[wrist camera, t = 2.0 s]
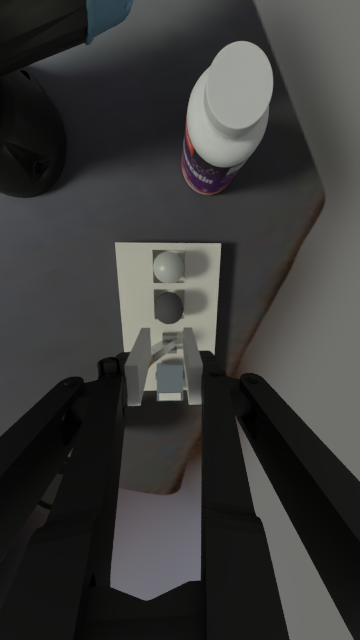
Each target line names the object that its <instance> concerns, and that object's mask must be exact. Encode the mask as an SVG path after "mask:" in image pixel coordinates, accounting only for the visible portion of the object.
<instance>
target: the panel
mask: <svg viewBox="0 0 360 640" xmlns="http://www.w3.org/2000/svg"><path fill="white" fill-rule="evenodd" d="M115 248H116V260H117V272H118V283H119V295H120V307H121V319H122V331H123V342H124V352H131V350H132V348H133V346H134V343H135V341H136V339H137V337H138V335H139V332H140V330H141V328H150V335H151V347H152V346H153V345H155V344H156V343H158V342H160V341H161V340H163V339H172V340H174V348H173V349H172V350H170V351H169V352H168V353H167V354H165V355H164V356H163V357H161V358H160V359H159V360H157V361H156V362H155V363H153V364H152V365H151V367H150V368H149V369H148V373H147V378H146V383H145V387H144V391H152V390H157V363H173V362H182V363H183V390H187V385H186V376H185V368H184V359H183V327H192V330H193V333H194V336H195V340H196V343H197V347H198V350H199V351H205V350H209V351H211V352H212V353H213V354H215V337H216V321H217V304H218V288H219V272H220V255H221V243H115ZM163 252H173V253H175V254H177V255H178V256H179V257H180V258H181V259H182V261H183V265H184V271H183V274H182V276H181V278H180V279H179V280H178V281H176V282H174V283H164V282H161V281H160V280H159V279H157V277H156V276H155V274H154V271H153V264H154V261H155V259H156V257H157V256H158V255H160V254H161V253H163ZM165 292H173V293H175V294H177V295H178V296H179V297H180V298H181V301H182V305H183V315H182V317H181V319H180V320H179V321H178V322H176V323H174V324H164V323H162V322H160V321H159V320H158V319H157V317H156V315H155V305H156V302H157V300H158V298H159V296H160V295H162V294H163V293H165Z"/></svg>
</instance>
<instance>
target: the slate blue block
mask: <svg viewBox="0 0 360 640" xmlns="http://www.w3.org/2000/svg"><path fill="white" fill-rule="evenodd" d="M157 401H183V363H182V362H173V363H157Z"/></svg>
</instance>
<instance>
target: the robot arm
mask: <svg viewBox="0 0 360 640" xmlns="http://www.w3.org/2000/svg"><path fill="white" fill-rule="evenodd" d="M132 4H133V0H0V192H1V193H3V194H6V195H9V196H13V197H22V198H24V197H33V196H36V195H39V194H41V193H43V192H45V191H46V190H48V189H49V188H50V187H51V186H52V185H53V184H54V183H55V182H56V180H57V179H58V177H59V176H60V174H61V171H62V169H63V166H64V162H65V156H66V140H65V133H64V128H63V125H62V122H61V119H60V116H59V114H58V112H57V110H56V108H55V106H54V104H53V102H52V101H51V99H50V98H49V96H48V95H47V94H46V92H45V91H44V90H43V88H42V87H41V86H40V84H39V83H38V82H37V81H36V79H35V78H34V77H33V76H32V75H31V74H30V73H29V72H28V71H27V70H26V69H25V68H24V67H25V66H28V65H30V64H32V63H35V62H37V61H40V60H42V59H45V58H47V57H50V56H52V55H55V54H57V53H60V52H62V51H65V50H67V49H70V48H73V47H75V46H78V45H80V44H83V43H85V44H86V45H89V44H91V42H92V41H93V39H94V37H96V36H97V35H99V34H101V33H103V32H105V31H106V30H108V29H110V28H112V27H114V26H116V25H118V24H120V23H121V22H123V21H124V20H125V19H126V17H127V16H128V14H129V12H130V10H131V7H132ZM183 359H184V368H185V376H186V385H187V393H188V402H189V405H195V404H201V398H202V496H201V497H202V499H201V503H202V505H201V509H202V510H201V511H202V512H201V581H189V582H187V583H184V584H182V585H181V586H178V587H177V588H174V589H172V590H170V591H168V592H166V593H164V594H162V595H160V596H158V597H156V598H154V599H152V600H148V601H145V600H141V599H139V598H136V597H134V596H131V595H129V594H126V593H124V592H121V591H118V590H116V589H114V588H111V587H110V573H111V560H112V550H113V540H114V529H115V519H116V509H117V499H118V489H119V478H120V468H121V458H122V448H123V438H124V427H125V417H126V405H125V404H126V401H127V402H128V406H141V401H142V396H143V392H144V387H145V383H146V378H147V373H148V369H149V364H150V360H151V335H150V328H141V330H140V332H139V335H138V337H137V339H136V341H135V343H134V346H133V348H132V350H131V352H121V353H120V354H118V355H117V356H116V357H108V358H105V359H102V360H100V361H99V362H98V363H97V366H98V373H99V377H98V380H96V381H92V382H87V383H84V381H83V378H81V377H70V378H66V379H64V380H62V381H61V382H59V383H58V384H57V385H56V386H55V387H54V388H52V389H51V390H50V391H49V392H48V393H47V394H46V395H45V396H44V397H43V398H42V399H41V400H39V401H38V402H37V403H36V404H35V405H34V406H33V407H32V408H31V409H30V410H29V411H28V412H27V413H25V414H24V415H23V416H22V417H21V418H20V419H19V420H18V421H17V422H16V423H15V424H14V425H12V426H11V427H10V428H9V429H8V430H7V431H6V432H5V433H4V434H3V435H2V436H1V437H0V563H1V562H2V560H3V558H4V557H5V555H6V553H7V552H8V551H9V549H10V547H11V546H12V544H13V543H14V541H15V539H16V538H17V536H18V535H19V533H20V531H21V530H22V528H23V527H24V525H25V523H26V522H27V520H28V519H29V517H30V515H31V514H32V512H33V511H34V509H35V508H36V506H37V504H38V503H39V501H40V500H41V498H42V496H43V495H44V493H45V492H46V490H47V488H48V487H49V485H50V484H51V482H52V480H53V479H54V477H55V476H56V474H57V473H58V471H59V469H60V468H61V466H62V465H63V463H64V461H65V460H66V458H67V457H68V455H69V453H70V452H71V450H72V452H71V455H70V458H69V460H68V463H67V466H66V469H65V472H64V474H63V477H62V480H61V483H60V485H59V488H58V491H57V494H56V496H55V499H54V502H53V505H52V508H51V510H50V513H49V516H48V518H47V521H46V523H45V524H44V525H43V526H42V527H40V528H37V529H36V531H35V532H34V533H33V534H32V536H31V538H30V540H29V542H28V544H27V546H26V549H25V551H24V554H23V556H22V559H21V561H20V564H19V566H18V569H17V571H16V574H15V576H14V579H13V581H12V584H11V586H10V589H9V591H8V594H7V596H6V599H5V601H4V604H3V606H2V609H1V611H0V640H290V639H289V636H288V631H287V626H286V622H285V618H284V613H283V609H282V604H281V600H280V596H279V591H278V587H277V583H276V578H275V574H274V569H273V565H272V561H271V557H270V552H269V547H268V543H267V539H266V534H265V531H264V527H263V524H262V522H261V519H260V518H259V517H257V516H256V514H255V510H254V507H253V502H252V497H251V492H250V487H249V482H248V477H247V472H246V467H245V463H244V458H243V453H242V448H241V443H240V438H239V433H238V428H237V424H236V419H235V415H236V417H237V420H238V422H239V423H240V425H241V427H242V429H243V431H244V433H245V434H246V437H247V438H248V440H249V442H250V444H251V446H252V448H253V450H254V452H255V454H256V456H257V457H258V459H259V461H260V463H261V465H262V467H263V469H264V471H265V473H266V474H267V476H268V478H269V480H270V482H271V484H272V486H273V488H274V490H275V492H276V493H277V495H278V497H279V499H280V501H281V503H282V505H283V507H284V509H285V510H286V512H287V514H288V516H289V518H290V520H291V522H292V524H293V526H294V528H295V529H296V531H297V533H298V535H299V537H300V539H301V541H302V543H303V545H304V546H305V548H306V550H307V552H308V554H309V556H310V558H311V560H312V562H313V563H314V565H315V567H316V569H317V571H318V573H319V575H320V577H321V579H322V581H323V582H324V584H325V586H326V588H327V590H328V592H329V594H330V596H331V598H332V599H333V601H334V603H335V605H336V607H337V609H338V611H339V613H340V615H341V616H342V618H343V620H344V622H345V624H346V626H347V628H348V630H349V631H350V633H351V635H352V637H353V638H354V640H360V482H359V481H358V479H357V478H356V477H355V476H354V475H353V474H352V473H351V472H350V471H349V470H348V469H347V468H346V466H344V464H343V463H342V462H341V461H340V460H339V459H338V458H337V457H336V456H335V455H334V454H333V453H332V451H330V449H329V448H328V447H327V446H326V445H325V444H324V443H323V442H322V441H321V440H320V439H319V437H318V436H317V435H316V434H314V432H313V431H312V430H311V429H310V428H309V427H308V426H307V425H306V424H305V422H304V421H303V420H302V419H301V418H300V417H299V416H298V415H297V414H296V413H295V412H294V411H293V410H292V409H291V407H290V406H289V405H287V403H286V402H285V401H284V400H283V399H282V398H281V397H280V396H279V395H278V393H277V392H276V391H275V390H274V389H273V388H272V387H271V386H270V385H269V384H268V383H267V382H266V381H265V380H264V378H262V377H261V376H259V375H257V374H253V373H245V374H242V375H241V377H240V379H235V378H230V377H228V376H227V375H226V373H225V371H223V370H222V369H220V368H219V365H218V363H217V361H216V359H215V356H214V354H213V353H212V352H211V351H209V350H205V351H199V350H198V347H197V343H196V340H195V336H194V333H193V330H192V327H183Z"/></svg>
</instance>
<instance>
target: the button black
mask: <svg viewBox="0 0 360 640" xmlns="http://www.w3.org/2000/svg"><path fill="white" fill-rule="evenodd" d="M155 315H156V317H157V319H158V320H159V321H160V322H162V323H164V324H174V323H176V322H178V321H179V320H180V319H181V317H182V315H183V305H182V301H181V298H180V297H179V296H178V295H177V294H175V293H173V292H165V293H163V294H162V295H160V296H159V298H158V300H157V302H156V305H155Z"/></svg>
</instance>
